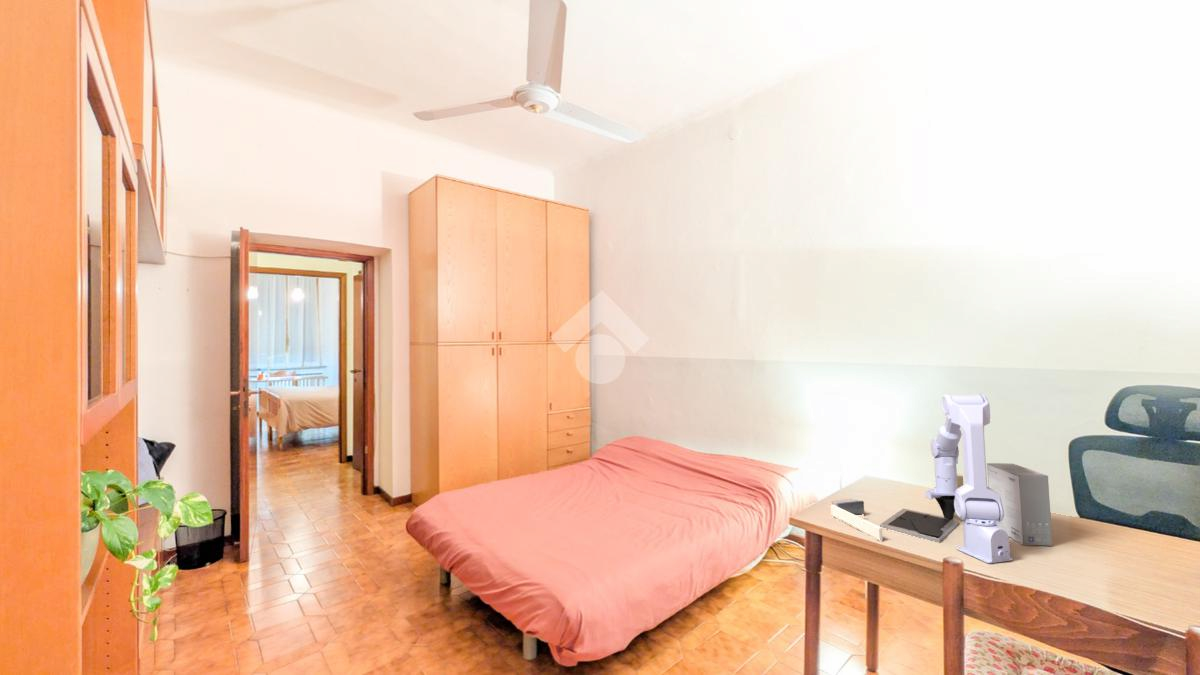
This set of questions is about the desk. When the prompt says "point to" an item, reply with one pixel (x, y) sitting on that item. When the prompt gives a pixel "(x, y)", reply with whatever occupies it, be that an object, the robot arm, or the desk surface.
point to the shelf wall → (857, 522)
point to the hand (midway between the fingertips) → (948, 518)
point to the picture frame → (920, 524)
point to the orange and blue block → (843, 501)
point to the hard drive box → (1022, 502)
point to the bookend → (853, 507)
